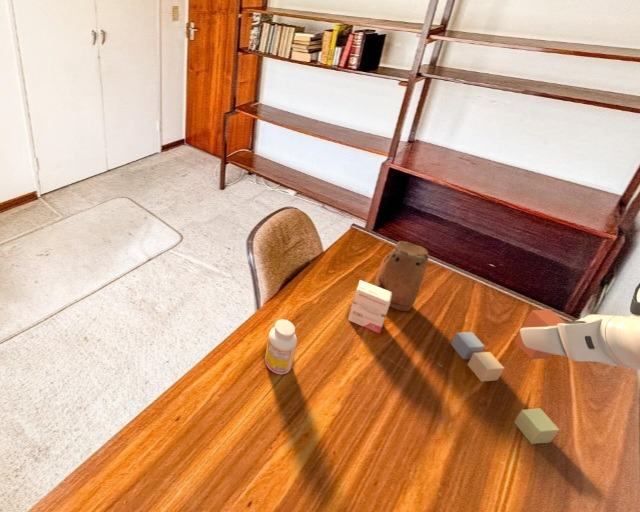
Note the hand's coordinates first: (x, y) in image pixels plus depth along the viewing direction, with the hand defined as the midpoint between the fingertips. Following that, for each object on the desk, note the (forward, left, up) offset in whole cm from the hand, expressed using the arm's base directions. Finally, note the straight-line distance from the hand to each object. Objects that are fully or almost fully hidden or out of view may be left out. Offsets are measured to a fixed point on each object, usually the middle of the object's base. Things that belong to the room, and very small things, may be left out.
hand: (540, 332), depth 87 cm
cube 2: (+2, -5, -19) cm, 20 cm away
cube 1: (+2, +9, -19) cm, 22 cm away
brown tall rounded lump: (+12, -29, -20) cm, 37 cm away
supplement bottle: (+53, -11, -20) cm, 58 cm away
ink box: (+24, -22, -20) cm, 38 cm away
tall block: (0, 0, -5) cm, 5 cm away
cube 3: (+2, -11, -19) cm, 22 cm away
